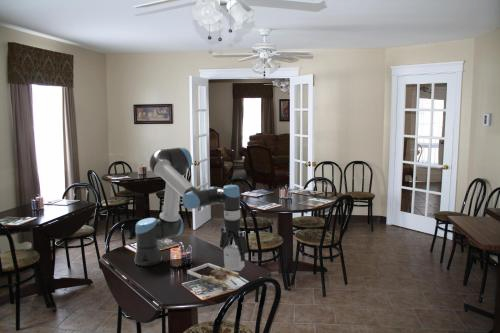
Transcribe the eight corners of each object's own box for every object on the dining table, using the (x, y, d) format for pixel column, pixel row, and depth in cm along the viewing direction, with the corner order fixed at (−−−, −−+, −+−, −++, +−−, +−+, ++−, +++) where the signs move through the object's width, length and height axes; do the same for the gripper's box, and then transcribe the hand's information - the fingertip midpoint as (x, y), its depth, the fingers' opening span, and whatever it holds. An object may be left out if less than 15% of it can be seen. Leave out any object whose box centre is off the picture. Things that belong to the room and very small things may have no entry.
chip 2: (215, 278, 211) (214, 273, 211) (220, 275, 214) (220, 271, 214) (220, 280, 208) (220, 275, 208) (226, 277, 211) (226, 273, 211)
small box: (244, 267, 205) (243, 245, 204) (240, 271, 200) (239, 249, 198) (228, 265, 207) (227, 244, 206) (224, 270, 202) (223, 248, 200)
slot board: (201, 281, 211) (201, 275, 210) (222, 272, 221) (222, 267, 220) (217, 287, 202) (217, 282, 202) (238, 278, 212) (238, 273, 212)
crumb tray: (187, 275, 218) (186, 270, 218) (208, 267, 228) (207, 262, 228) (201, 281, 211) (201, 276, 210) (222, 272, 221) (222, 267, 220)
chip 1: (210, 275, 214) (210, 271, 214) (216, 272, 217) (215, 268, 217) (216, 277, 212) (216, 272, 212) (222, 274, 215) (222, 270, 215)
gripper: (210, 216, 205) (212, 261, 208) (243, 224, 190) (245, 272, 193) (222, 213, 210) (223, 257, 213) (255, 220, 195) (256, 267, 198)
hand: (234, 264), depth 203 cm, fingers closed on small box, 9 cm apart
